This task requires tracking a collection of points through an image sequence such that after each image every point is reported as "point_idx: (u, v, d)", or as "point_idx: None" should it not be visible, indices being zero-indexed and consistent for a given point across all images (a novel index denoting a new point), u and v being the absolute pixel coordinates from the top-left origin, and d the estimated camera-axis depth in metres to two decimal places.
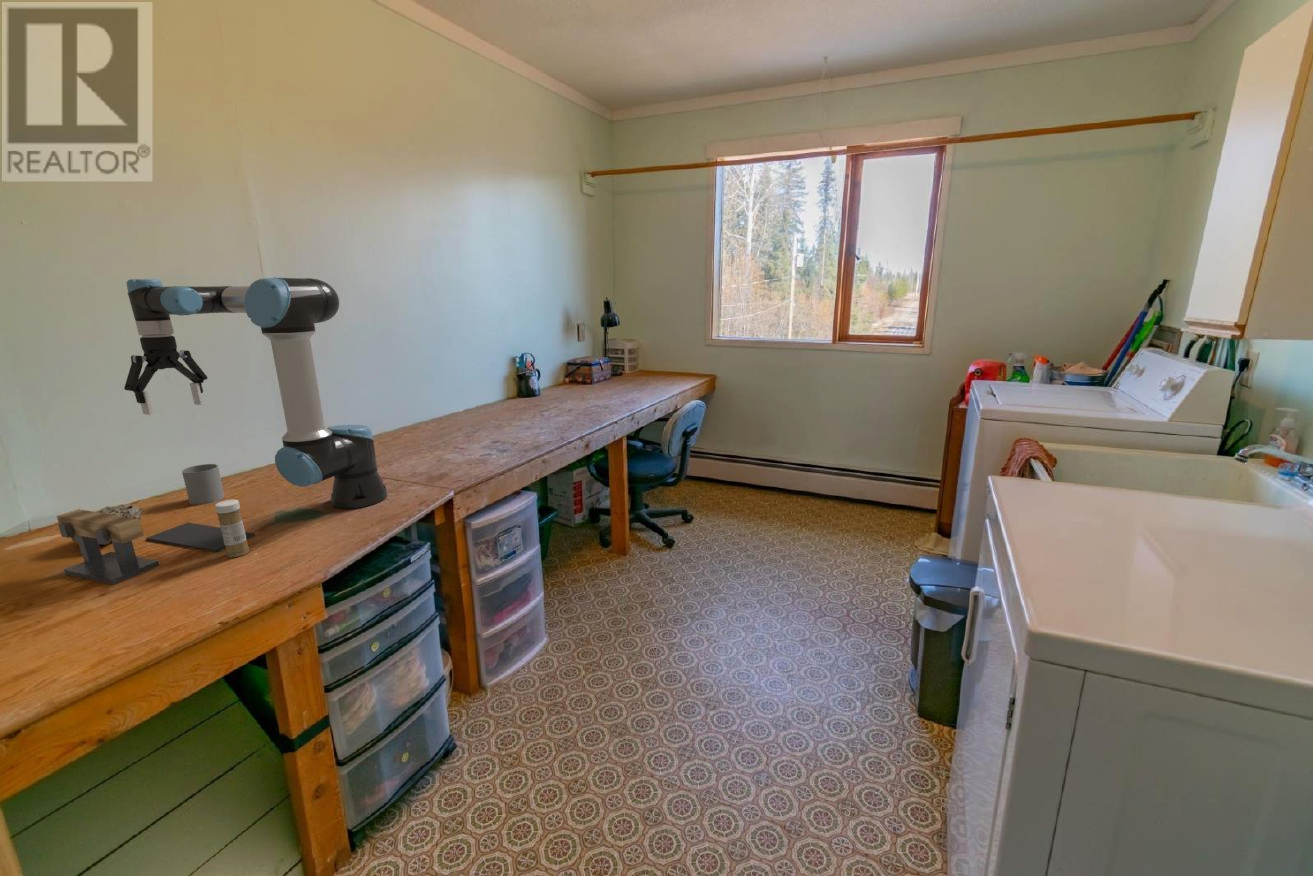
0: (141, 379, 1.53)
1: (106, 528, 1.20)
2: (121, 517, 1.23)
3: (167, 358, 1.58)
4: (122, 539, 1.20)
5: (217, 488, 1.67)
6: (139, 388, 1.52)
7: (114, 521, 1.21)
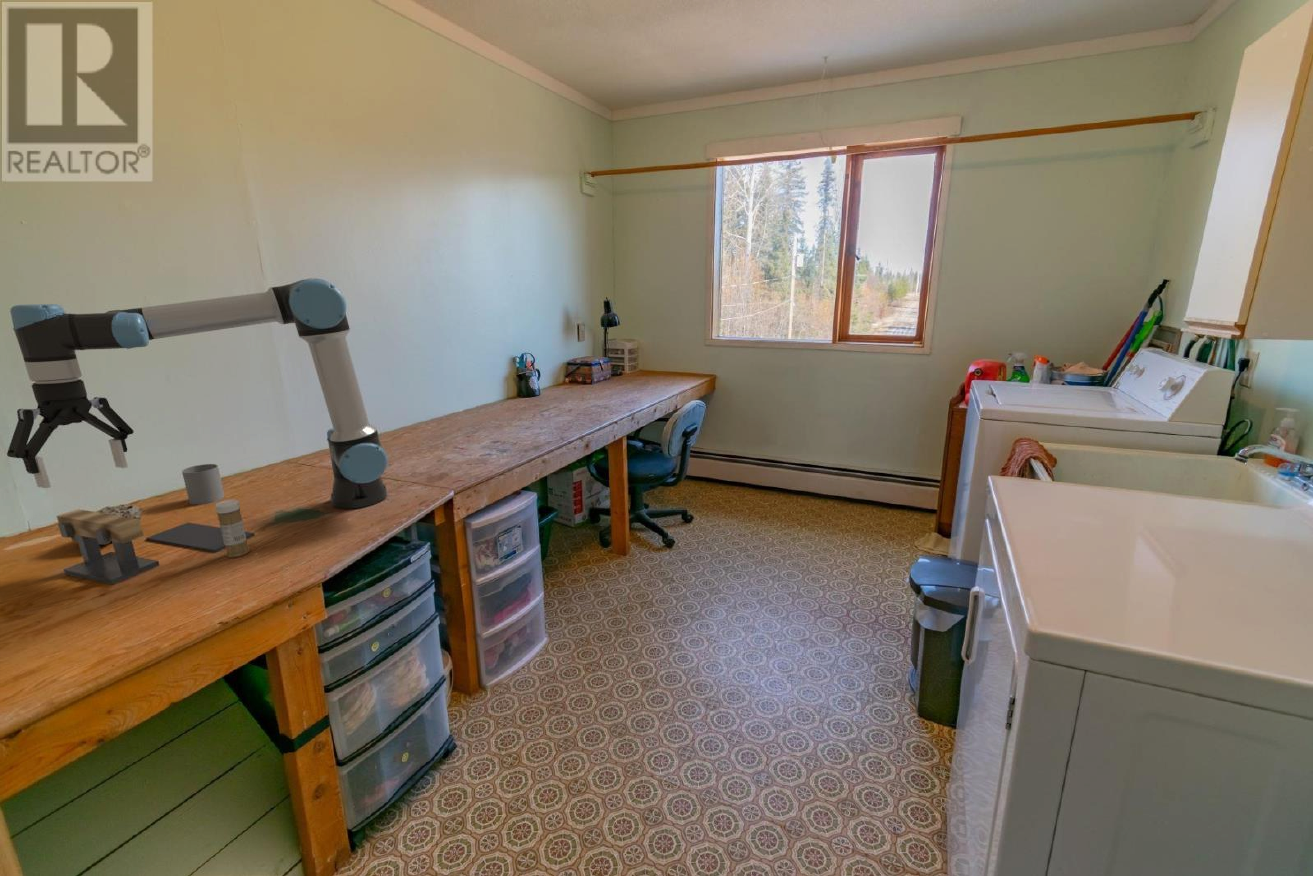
0: (33, 440, 1.12)
1: (106, 528, 1.20)
2: (121, 517, 1.23)
3: (72, 410, 1.17)
4: (122, 539, 1.20)
5: (217, 488, 1.67)
6: (29, 454, 1.11)
7: (114, 521, 1.21)
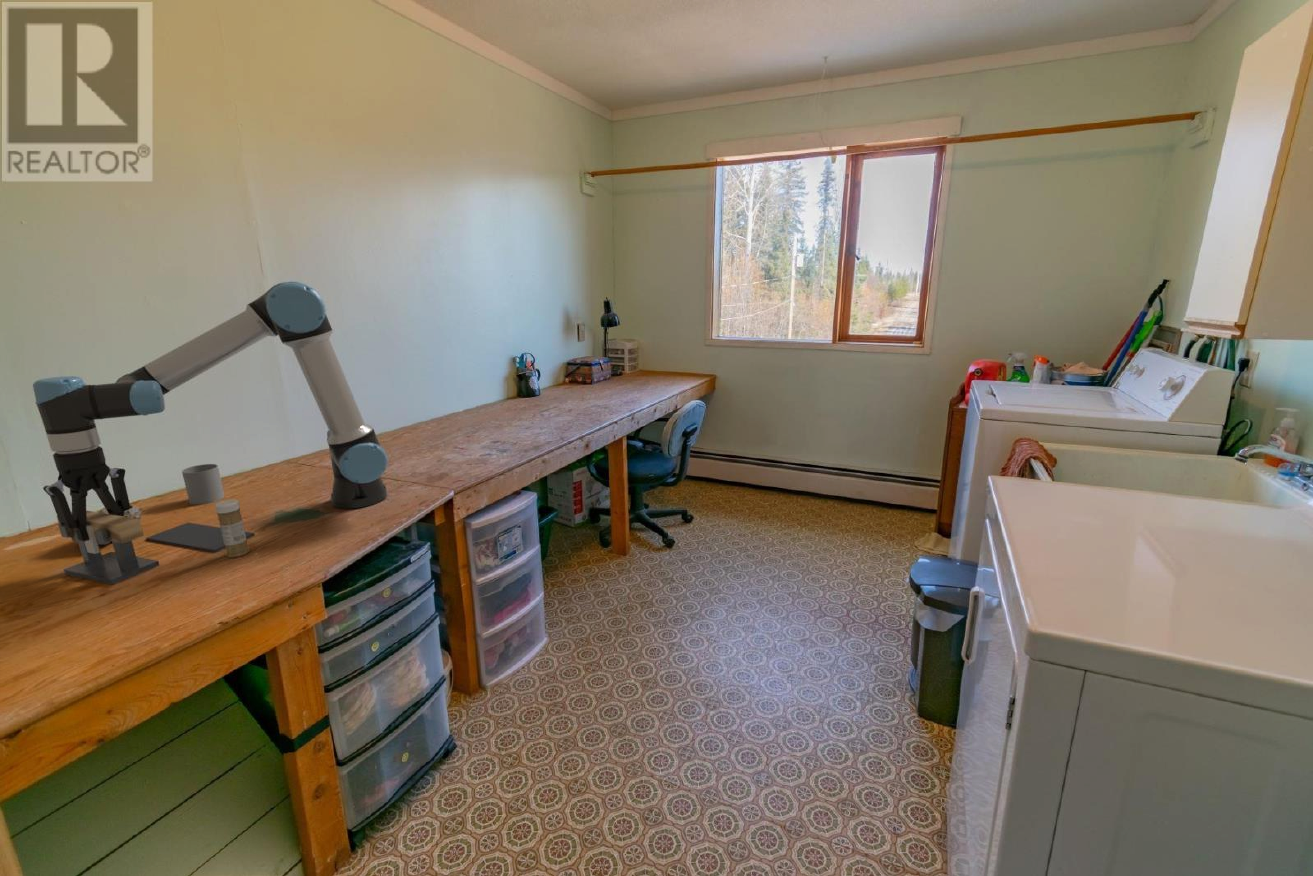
0: (75, 511, 1.19)
1: (106, 528, 1.20)
2: (121, 517, 1.23)
3: (92, 475, 1.21)
4: (122, 539, 1.20)
5: (217, 488, 1.67)
6: (80, 524, 1.20)
7: (114, 521, 1.21)
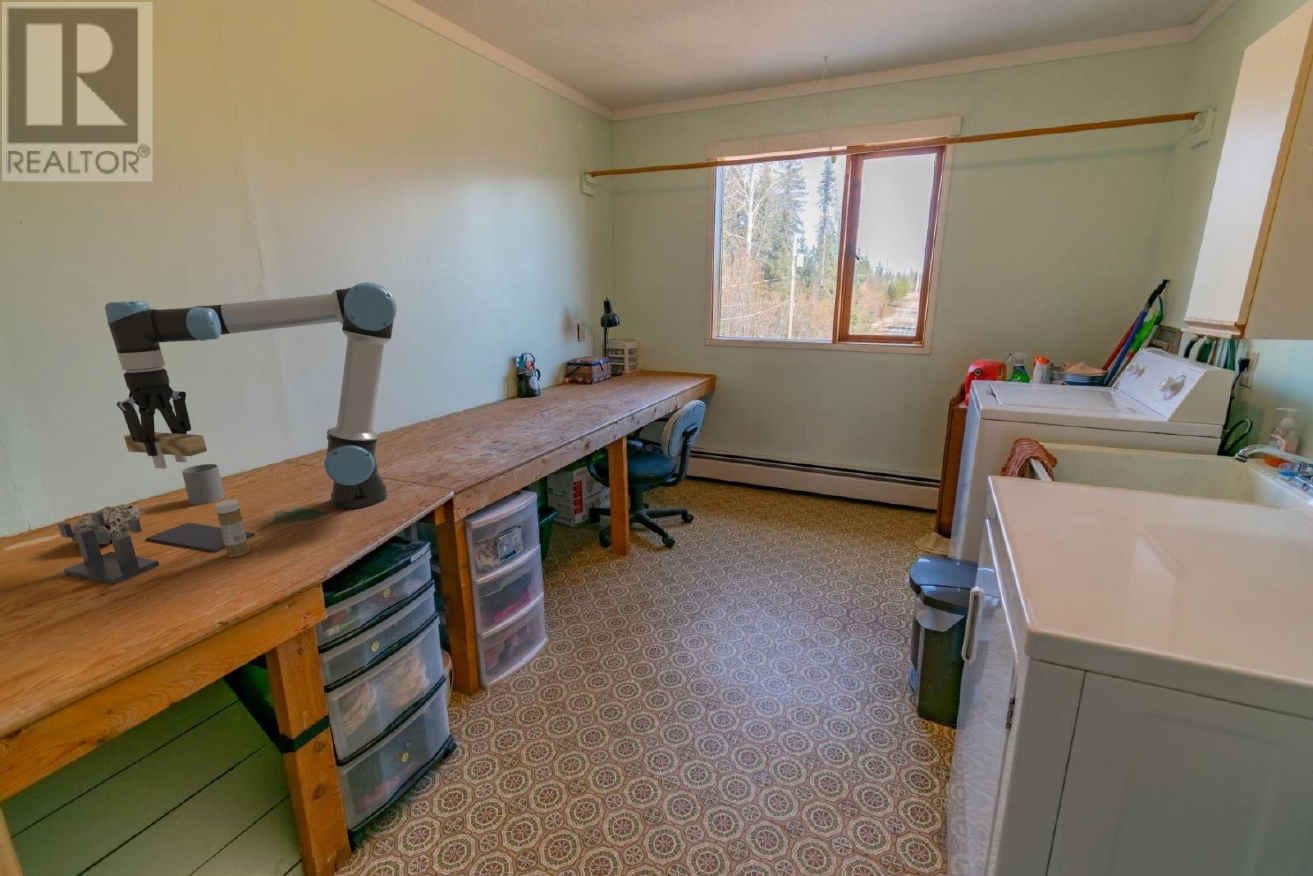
0: (145, 427, 1.29)
1: (173, 443, 1.29)
2: (185, 434, 1.33)
3: (158, 394, 1.30)
4: (189, 452, 1.29)
5: (217, 488, 1.67)
6: (149, 440, 1.29)
7: (179, 437, 1.31)
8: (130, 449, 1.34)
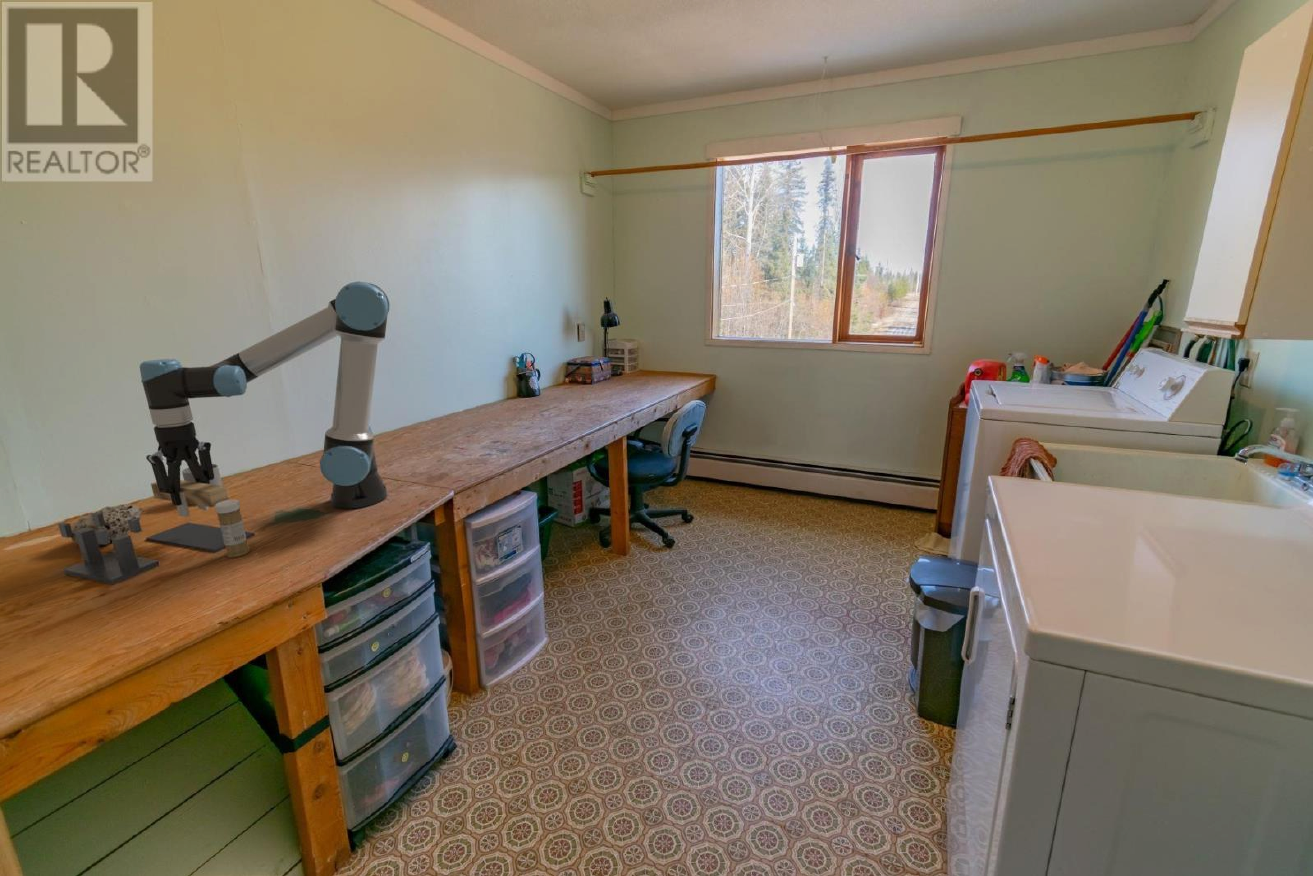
0: (171, 478, 1.35)
1: (197, 493, 1.36)
2: (209, 485, 1.39)
3: (185, 447, 1.36)
4: (212, 503, 1.35)
5: None
6: (175, 490, 1.35)
7: (203, 488, 1.37)
8: (156, 496, 1.40)
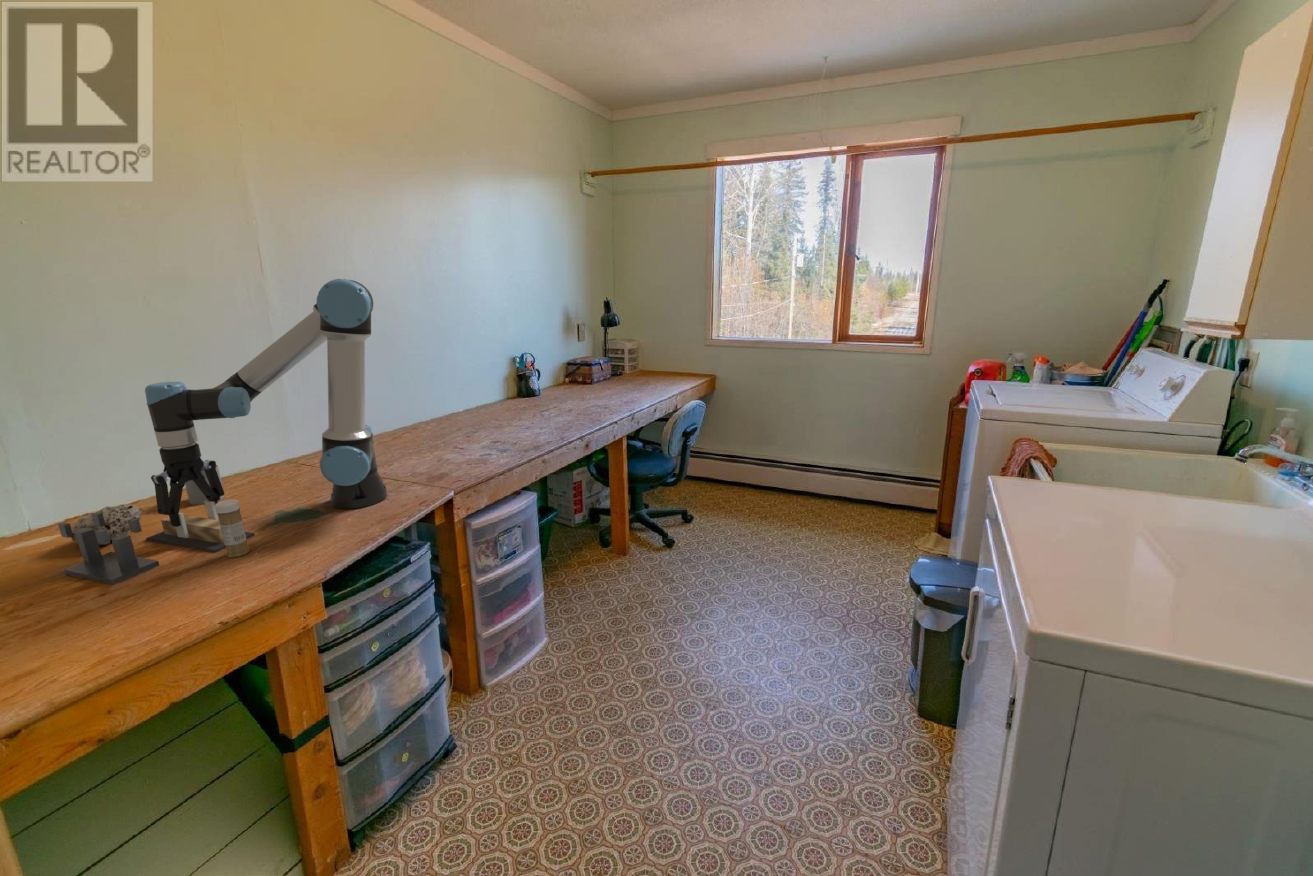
0: (172, 499, 1.36)
1: (207, 530, 1.38)
2: (218, 521, 1.42)
3: (190, 468, 1.38)
4: (221, 540, 1.38)
5: None
6: (174, 511, 1.35)
7: (213, 524, 1.40)
8: (166, 532, 1.43)
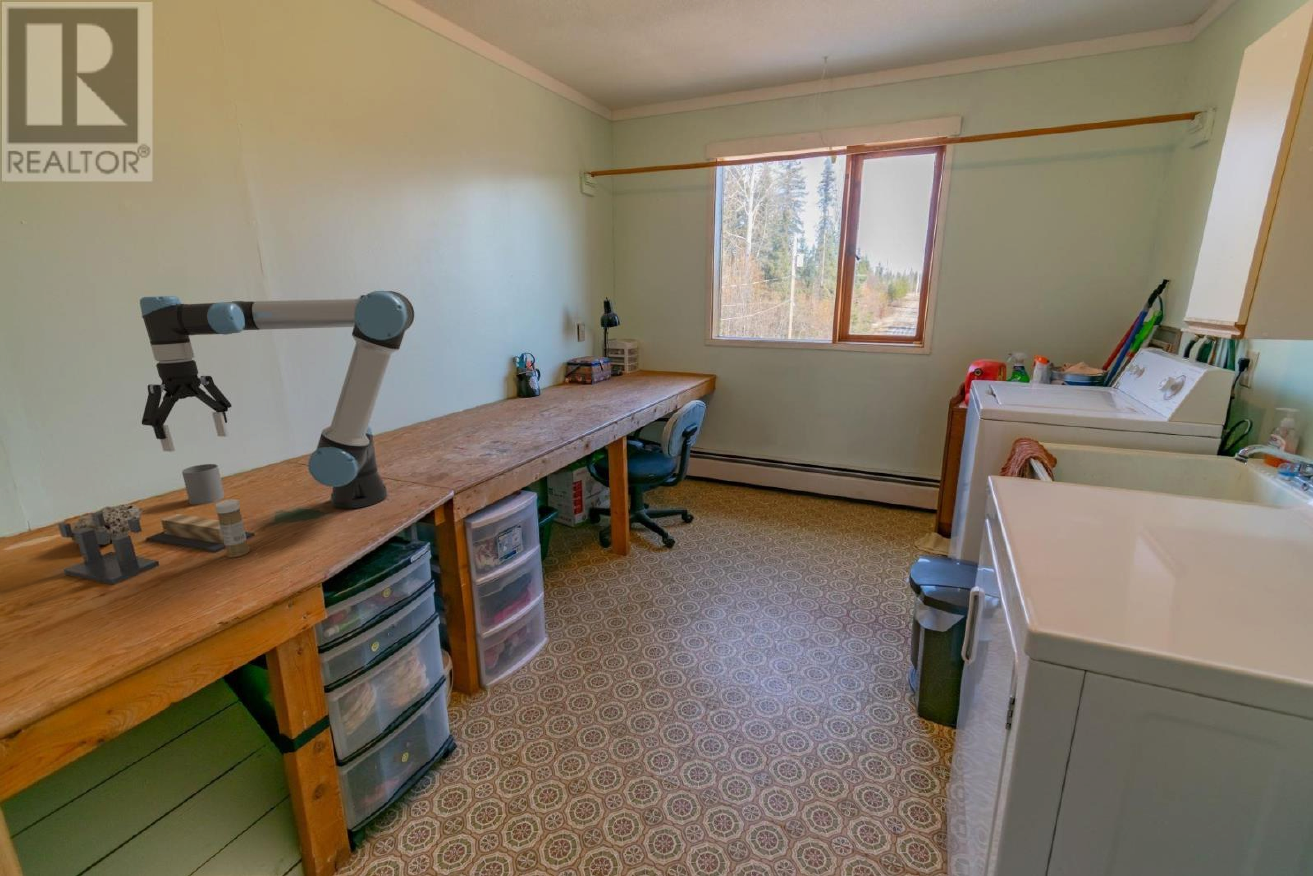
0: (160, 411, 1.33)
1: (207, 530, 1.38)
2: (218, 521, 1.42)
3: (188, 386, 1.38)
4: (221, 540, 1.38)
5: (217, 488, 1.67)
6: (159, 422, 1.32)
7: (213, 524, 1.40)
8: (166, 532, 1.43)
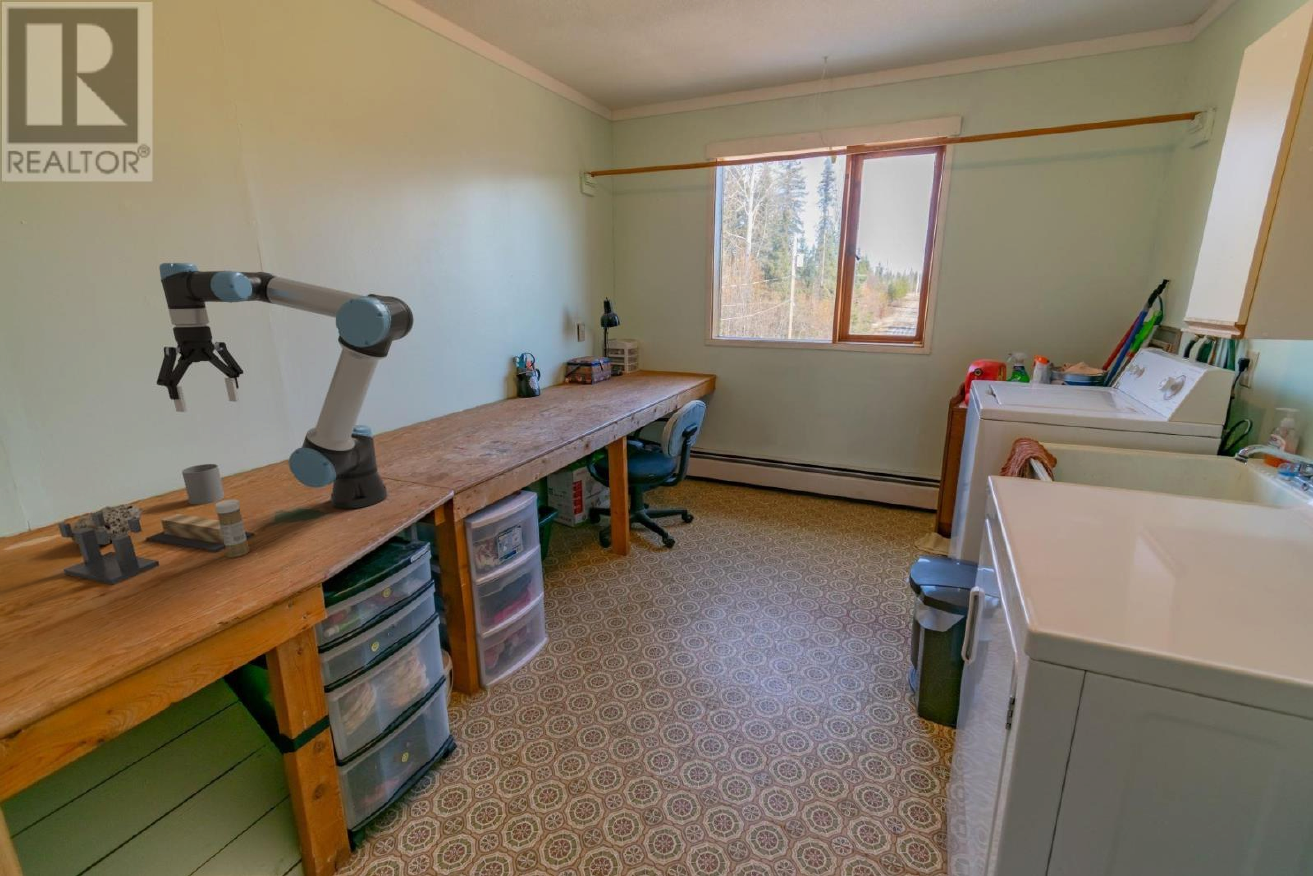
0: (175, 373, 1.39)
1: (207, 530, 1.38)
2: (218, 521, 1.42)
3: (202, 350, 1.44)
4: (221, 540, 1.38)
5: (217, 488, 1.67)
6: (173, 383, 1.38)
7: (213, 524, 1.40)
8: (166, 532, 1.43)
